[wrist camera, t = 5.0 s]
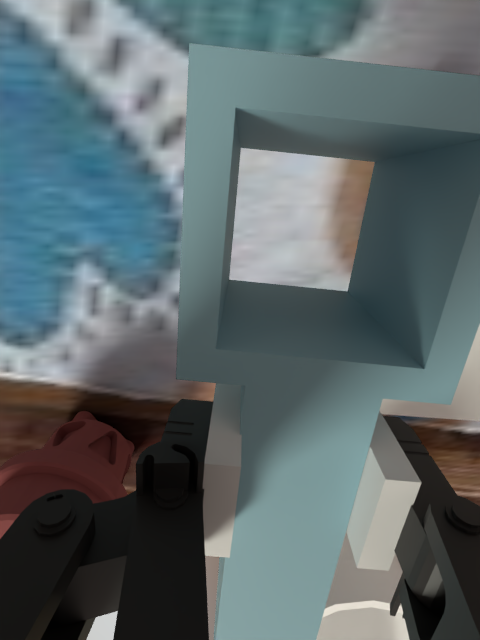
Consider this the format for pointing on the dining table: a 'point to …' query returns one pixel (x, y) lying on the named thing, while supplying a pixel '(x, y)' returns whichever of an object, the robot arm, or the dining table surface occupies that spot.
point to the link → (323, 302)
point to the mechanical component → (67, 467)
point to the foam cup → (362, 602)
